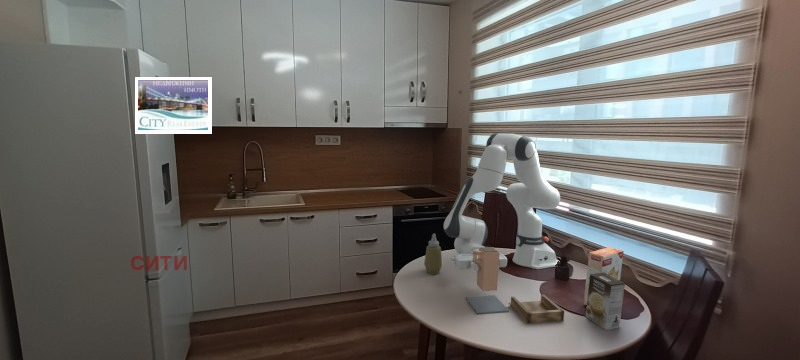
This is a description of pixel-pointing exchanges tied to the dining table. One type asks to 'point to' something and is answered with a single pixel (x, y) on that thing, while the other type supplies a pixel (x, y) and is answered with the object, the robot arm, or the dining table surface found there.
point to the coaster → (486, 304)
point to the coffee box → (605, 300)
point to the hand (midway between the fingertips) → (488, 268)
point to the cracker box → (604, 265)
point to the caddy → (538, 310)
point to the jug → (487, 268)
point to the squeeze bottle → (433, 256)
